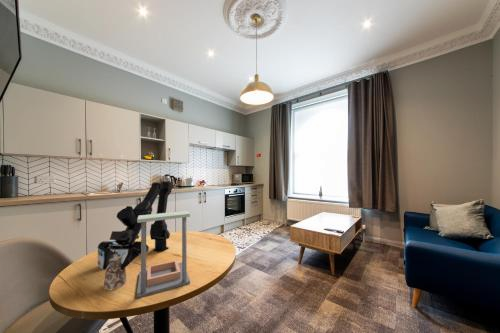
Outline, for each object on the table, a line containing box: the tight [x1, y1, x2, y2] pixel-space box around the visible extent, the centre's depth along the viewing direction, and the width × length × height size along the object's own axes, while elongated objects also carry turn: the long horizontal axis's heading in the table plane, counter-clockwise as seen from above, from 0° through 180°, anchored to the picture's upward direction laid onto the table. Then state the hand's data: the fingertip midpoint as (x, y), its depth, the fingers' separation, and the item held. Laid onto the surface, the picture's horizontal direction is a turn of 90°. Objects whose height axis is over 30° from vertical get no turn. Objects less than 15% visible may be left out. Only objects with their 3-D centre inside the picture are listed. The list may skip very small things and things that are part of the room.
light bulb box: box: [97, 239, 128, 271], centre depth 91 cm, size 11×7×11 cm, turn 148°
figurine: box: [103, 252, 127, 291], centre depth 73 cm, size 7×7×12 cm
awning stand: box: [136, 210, 191, 299], centre depth 78 cm, size 18×18×27 cm
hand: (112, 269), depth 72 cm, fingers open, 7 cm apart
